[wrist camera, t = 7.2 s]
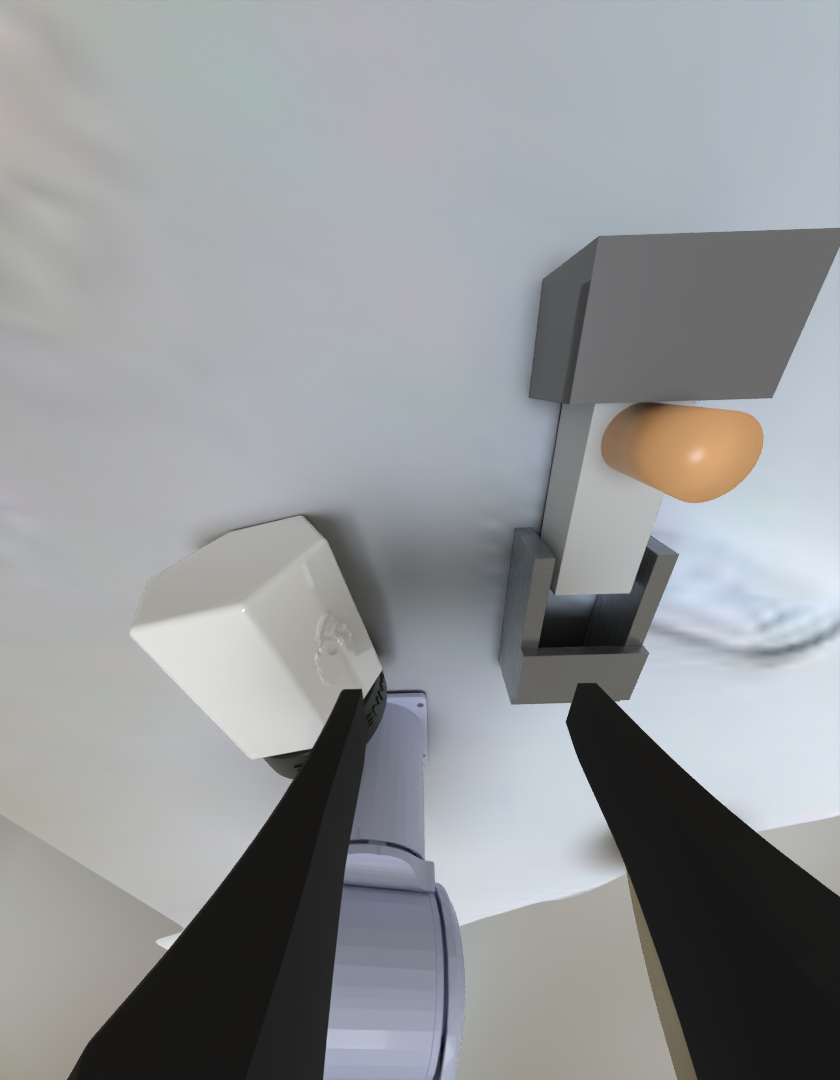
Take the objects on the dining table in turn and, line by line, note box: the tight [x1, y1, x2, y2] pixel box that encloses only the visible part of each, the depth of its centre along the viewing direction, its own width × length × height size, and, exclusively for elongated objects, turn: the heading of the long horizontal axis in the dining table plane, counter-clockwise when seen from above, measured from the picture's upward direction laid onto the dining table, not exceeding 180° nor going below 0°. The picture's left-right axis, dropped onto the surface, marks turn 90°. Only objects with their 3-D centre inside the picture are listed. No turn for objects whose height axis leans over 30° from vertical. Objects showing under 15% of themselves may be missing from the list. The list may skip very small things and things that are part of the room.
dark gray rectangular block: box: [529, 228, 840, 405], centre depth 12 cm, size 4×7×4 cm, turn 92°
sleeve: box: [499, 528, 679, 704], centre depth 19 cm, size 11×7×4 cm, turn 2°
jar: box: [129, 516, 387, 779], centre depth 17 cm, size 9×8×12 cm
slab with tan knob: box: [540, 400, 763, 595], centre depth 13 cm, size 13×4×7 cm, turn 2°
